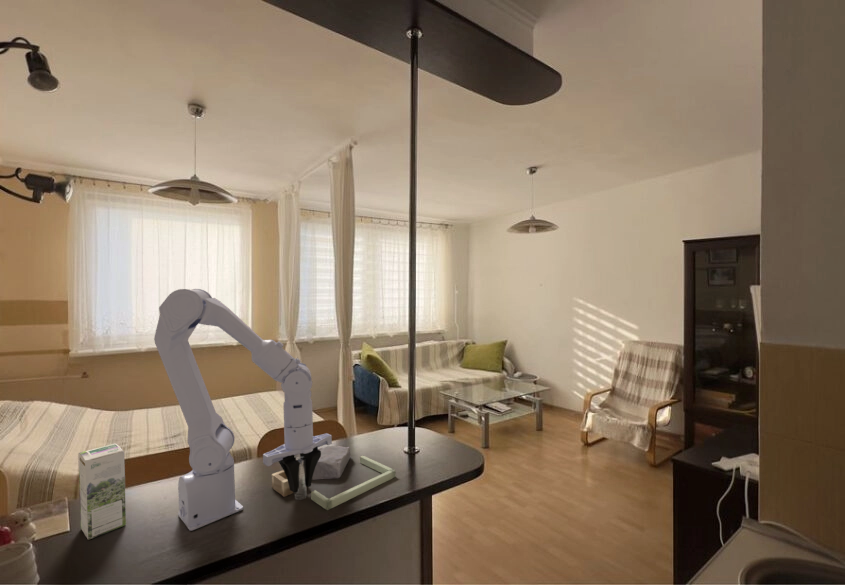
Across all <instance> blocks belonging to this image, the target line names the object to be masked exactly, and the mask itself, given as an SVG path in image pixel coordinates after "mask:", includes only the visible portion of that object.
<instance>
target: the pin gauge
mask: <svg viewBox="0 0 845 585" xmlns="http://www.w3.org/2000/svg"><path fill="white" fill-rule="evenodd" d="M295 457H296V460H297V461H299V462H300V465H299V470H298V492H296V493H294V499H295V500H296V501H301V500H305V499H306V498H307V493H308V492H307V487H306V458H305V457H300V456H295Z"/></svg>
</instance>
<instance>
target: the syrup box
mask: <svg viewBox="0 0 845 585" xmlns="http://www.w3.org/2000/svg"><path fill="white" fill-rule="evenodd" d="M77 455H78V456H77V457H78V458H77V459H78V482H79V485H78V487H79V514H80V515H79V517H80V518H79V521H80V530H82V532H83V534H84V536H85V537H86V538H87V540H88V541H89V540H91V539H94V538H97V537H100V536H102V535H104V534H105V535H106V534H107V533H109V532H110V533H111V531H114V530H117V529H120V528H121V527H124V526H126V525H127V513H126V512H127V510H126V509H127V508H126V505H127V504H126V475H125V474H126V472H125V471H126V470H125V469H126V467H125V465H126V461H125V451H124V450H123V448H121V446H120V445H119V444H117V443H112V444H107V445H103V446H100V447H95V448H91V449H89V450H85V451H81V452H78V454H77Z"/></svg>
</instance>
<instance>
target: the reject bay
mask: <svg viewBox="0 0 845 585" xmlns="http://www.w3.org/2000/svg"><path fill="white" fill-rule="evenodd" d="M359 463H360V464H361V465H363V466H365V467H367V468H370V469H373V470H374V471H376V472H379V473H380V474H378V475H376V476H375V477H372V478H371V479H368V480H366V481H364V482H362V483H360V484H358V485H354V486H353V487H350V488H349V489H347V490H344V491H343V492H340V493H338V494H336V495H334V496H332V497H330V498H328V497H327V496H326V495H323V494H321V493H320V492H319V491H317V490H316V489H314V490H313V491H310V499H311V501H313V502H314V503H316V504H317V505H319V506H320V507H322V508H323V509H325V510H326V511H329V510H331V509H333V508H335V507H337V506H339V505H341V504H343V503H346V502H347V501H349V500H351V499H354V498H355V497H358V496H360V495H362V494H364V493H366V492H368V491H369V490H372V489H373V488H376V487H378V486H379V485H382V484H384V483H386V482H389V481H390V480H392V479H394V478H397V477H396V476H397V473H396V472H397V471H396V469H394V468H391V467H389V466H387V465H384V464H383V463H380V462H379V461H376V460H374V459H371V458H369V457H367V456H365V455H361V456H360V457H359Z"/></svg>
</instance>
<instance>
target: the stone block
mask: <svg viewBox="0 0 845 585" xmlns="http://www.w3.org/2000/svg"><path fill="white" fill-rule="evenodd" d="M318 450H320V451H321V457H320V459H319V460H318V462H317V465H316V467H315V470H314V473H313V477H312V480H313V481H314V480H323V479H324V480H326V479H327V480H331V479H332V480H333V479H340V478H341V476H342V474H343V473H344V470H345V469H346V466H347V464H348V463H349V461H350V459H351V448H350V446H347V447H345V446H341V445H340V446H339V445H327V446H325V447H319V448H318Z"/></svg>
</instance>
